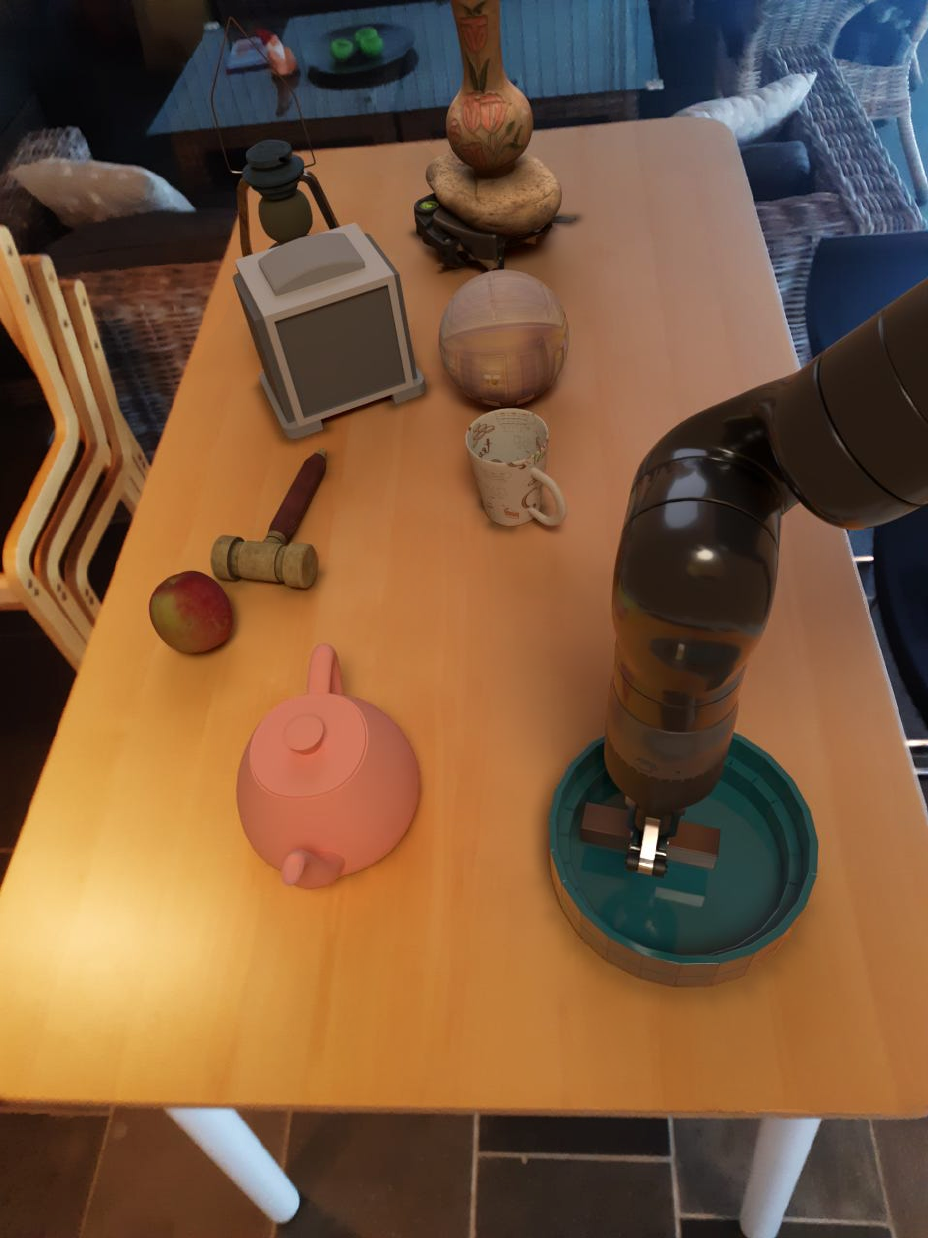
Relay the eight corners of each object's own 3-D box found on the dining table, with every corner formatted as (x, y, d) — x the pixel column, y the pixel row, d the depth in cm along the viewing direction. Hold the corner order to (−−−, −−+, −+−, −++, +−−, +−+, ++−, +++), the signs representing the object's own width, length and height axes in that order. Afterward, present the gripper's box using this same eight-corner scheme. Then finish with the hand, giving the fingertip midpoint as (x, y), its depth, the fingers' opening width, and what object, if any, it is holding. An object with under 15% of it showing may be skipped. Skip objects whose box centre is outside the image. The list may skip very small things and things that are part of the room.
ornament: (592, 376, 107) (594, 262, 96) (524, 448, 101) (517, 335, 89) (492, 342, 114) (482, 231, 102) (422, 407, 107) (402, 297, 95)
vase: (393, 279, 125) (342, -8, 98) (431, 200, 138) (395, -73, 111) (557, 285, 120) (552, -17, 93) (580, 202, 133) (581, -84, 106)
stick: (716, 842, 66) (721, 828, 65) (713, 869, 65) (718, 856, 63) (585, 815, 69) (585, 801, 67) (580, 841, 68) (580, 828, 66)
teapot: (421, 938, 68) (395, 878, 58) (231, 947, 69) (174, 889, 59) (426, 697, 81) (405, 616, 72) (266, 708, 82) (225, 629, 73)
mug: (513, 469, 99) (507, 397, 91) (596, 523, 92) (598, 450, 85) (458, 508, 96) (448, 437, 88) (541, 567, 90) (537, 496, 82)
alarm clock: (392, 338, 117) (366, 202, 102) (428, 392, 109) (406, 253, 94) (260, 382, 114) (214, 249, 99) (288, 442, 106) (242, 306, 91)
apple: (242, 599, 91) (217, 547, 85) (243, 661, 86) (216, 610, 80) (169, 613, 91) (139, 562, 85) (166, 677, 86) (133, 627, 80)
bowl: (806, 778, 72) (822, 742, 68) (794, 1020, 62) (812, 996, 57) (576, 735, 77) (576, 699, 72) (526, 953, 66) (523, 926, 61)
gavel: (279, 430, 102) (360, 436, 100) (288, 461, 105) (367, 468, 103) (204, 556, 89) (296, 566, 87) (217, 587, 92) (306, 597, 90)
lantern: (361, 273, 127) (302, -11, 100) (353, 320, 120) (287, 29, 93) (266, 281, 129) (181, 3, 101) (252, 328, 121) (157, 43, 94)
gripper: (721, 840, 48) (688, 942, 62) (742, 641, 56) (709, 770, 70) (586, 812, 50) (583, 917, 64) (624, 623, 58) (614, 753, 72)
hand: (649, 840), depth 67 cm, fingers closed on stick, 2 cm apart
